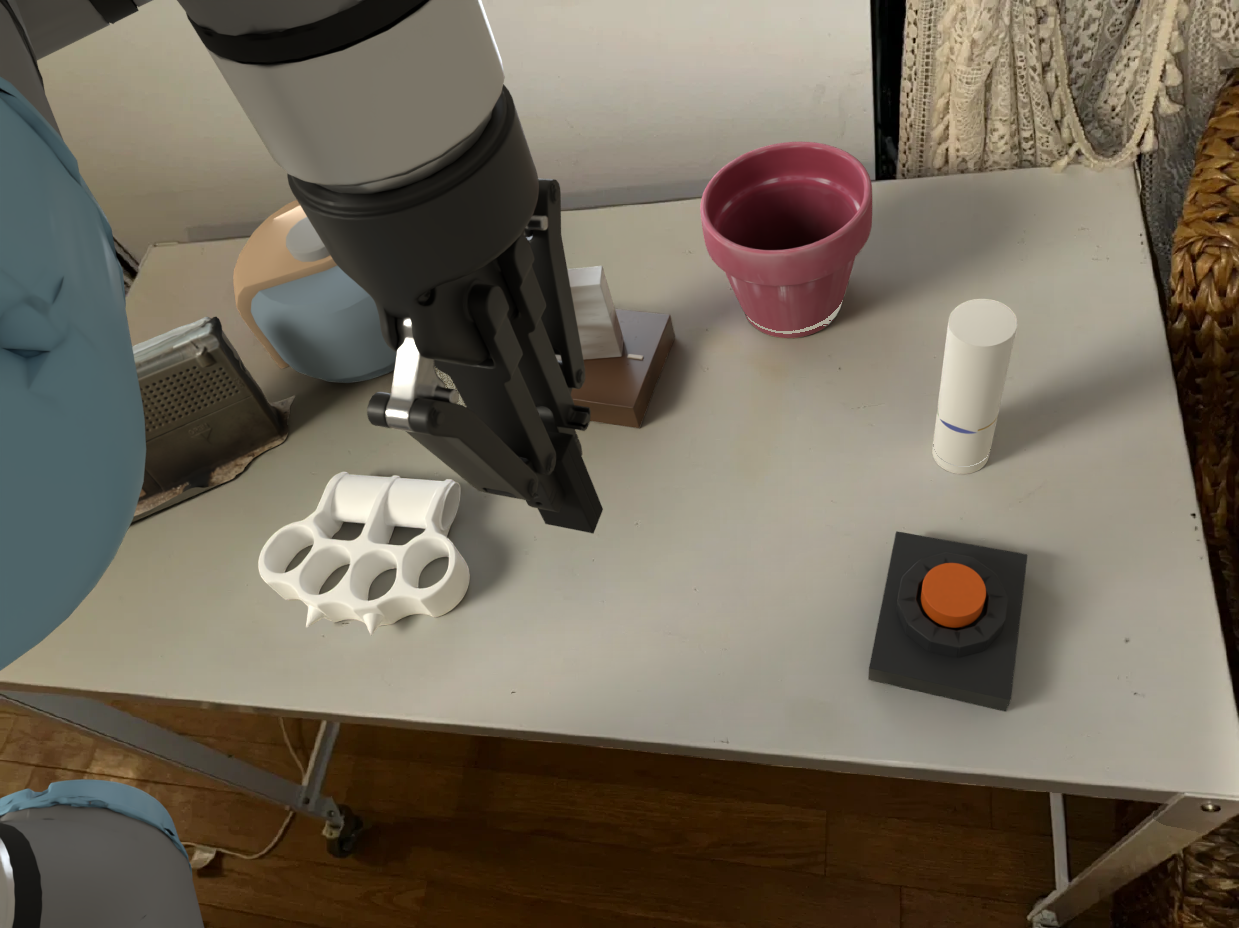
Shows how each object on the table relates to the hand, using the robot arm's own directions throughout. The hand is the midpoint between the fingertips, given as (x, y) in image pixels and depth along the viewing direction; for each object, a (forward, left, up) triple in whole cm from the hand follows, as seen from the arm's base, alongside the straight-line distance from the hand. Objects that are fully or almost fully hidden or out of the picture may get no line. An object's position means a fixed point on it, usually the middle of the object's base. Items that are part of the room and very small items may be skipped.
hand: (574, 516), depth 47 cm
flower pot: (+39, -1, -25) cm, 46 cm away
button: (+10, -19, -21) cm, 30 cm away
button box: (+10, -19, -24) cm, 33 cm away
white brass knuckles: (+5, +27, -25) cm, 37 cm away
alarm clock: (+31, +42, -25) cm, 58 cm away
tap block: (+28, +15, -24) cm, 40 cm away
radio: (+10, +52, -25) cm, 58 cm away
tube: (+25, -18, -25) cm, 39 cm away
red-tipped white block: (+28, +15, -21) cm, 38 cm away
